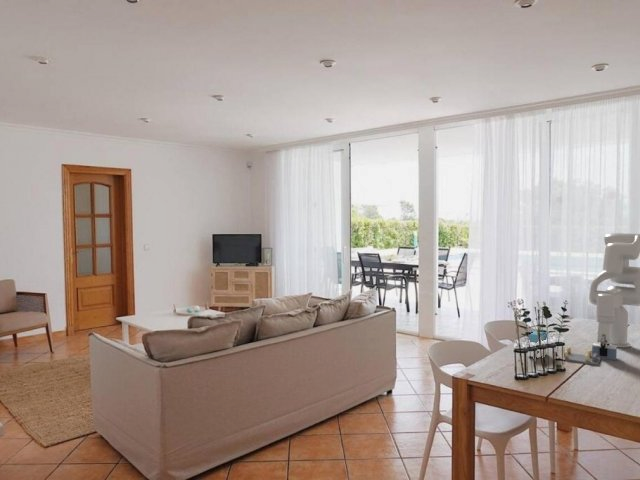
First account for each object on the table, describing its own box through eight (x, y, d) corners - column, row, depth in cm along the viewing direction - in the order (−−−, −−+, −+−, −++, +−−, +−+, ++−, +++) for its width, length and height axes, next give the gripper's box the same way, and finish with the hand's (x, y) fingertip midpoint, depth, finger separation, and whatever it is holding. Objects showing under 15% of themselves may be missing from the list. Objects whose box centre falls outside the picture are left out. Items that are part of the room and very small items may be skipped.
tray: (559, 353, 238) (559, 345, 238) (600, 359, 228) (600, 351, 227) (555, 359, 228) (555, 350, 228) (597, 365, 218) (598, 357, 218)
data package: (537, 359, 228) (537, 334, 228) (527, 357, 232) (528, 333, 231) (547, 354, 236) (547, 330, 236) (538, 352, 240) (538, 329, 239)
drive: (592, 354, 236) (593, 343, 235) (616, 358, 230) (616, 346, 229) (591, 356, 232) (592, 344, 232) (615, 360, 226) (616, 348, 226)
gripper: (598, 315, 239) (597, 348, 240) (594, 321, 225) (593, 356, 226) (615, 316, 235) (614, 350, 236) (612, 323, 221) (611, 359, 222)
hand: (604, 353), depth 231 cm, fingers open, 9 cm apart
